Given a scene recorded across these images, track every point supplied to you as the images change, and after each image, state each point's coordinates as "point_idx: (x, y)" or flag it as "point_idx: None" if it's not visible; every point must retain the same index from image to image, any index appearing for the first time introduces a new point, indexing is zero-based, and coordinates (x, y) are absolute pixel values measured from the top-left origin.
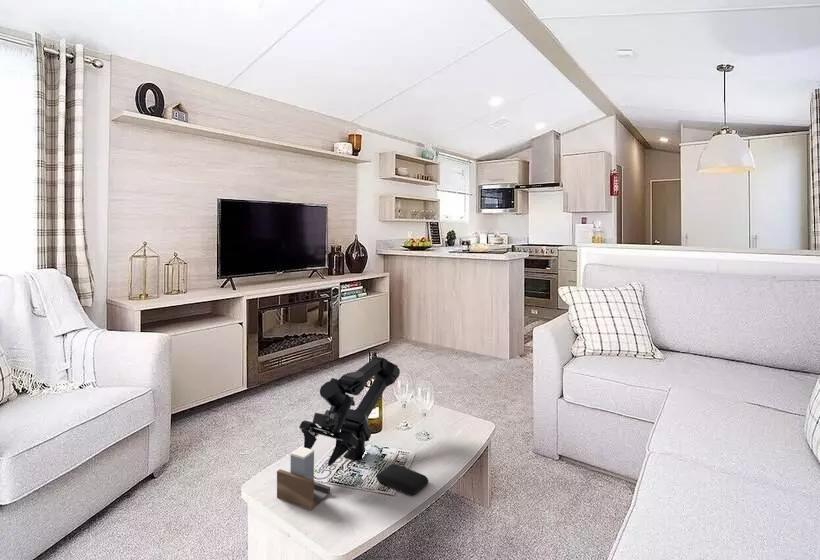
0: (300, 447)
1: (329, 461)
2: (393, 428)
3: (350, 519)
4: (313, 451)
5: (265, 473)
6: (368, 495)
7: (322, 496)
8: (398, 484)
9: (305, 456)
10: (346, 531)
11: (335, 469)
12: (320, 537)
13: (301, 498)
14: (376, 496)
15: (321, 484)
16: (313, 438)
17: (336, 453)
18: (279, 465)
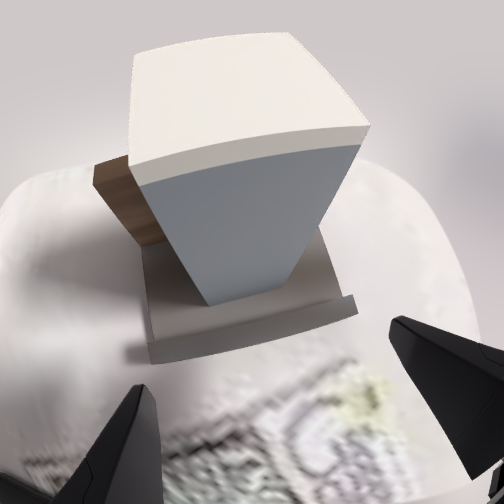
0: (344, 105)
1: (132, 401)
2: None
3: (25, 289)
4: (133, 166)
5: (455, 263)
6: (59, 433)
7: (158, 314)
8: (21, 493)
9: (135, 67)
10: (16, 244)
11: (307, 495)
12: (54, 186)
13: None
14: (42, 439)
15: (203, 351)
16: (488, 450)
17: (85, 470)
18: (472, 327)
